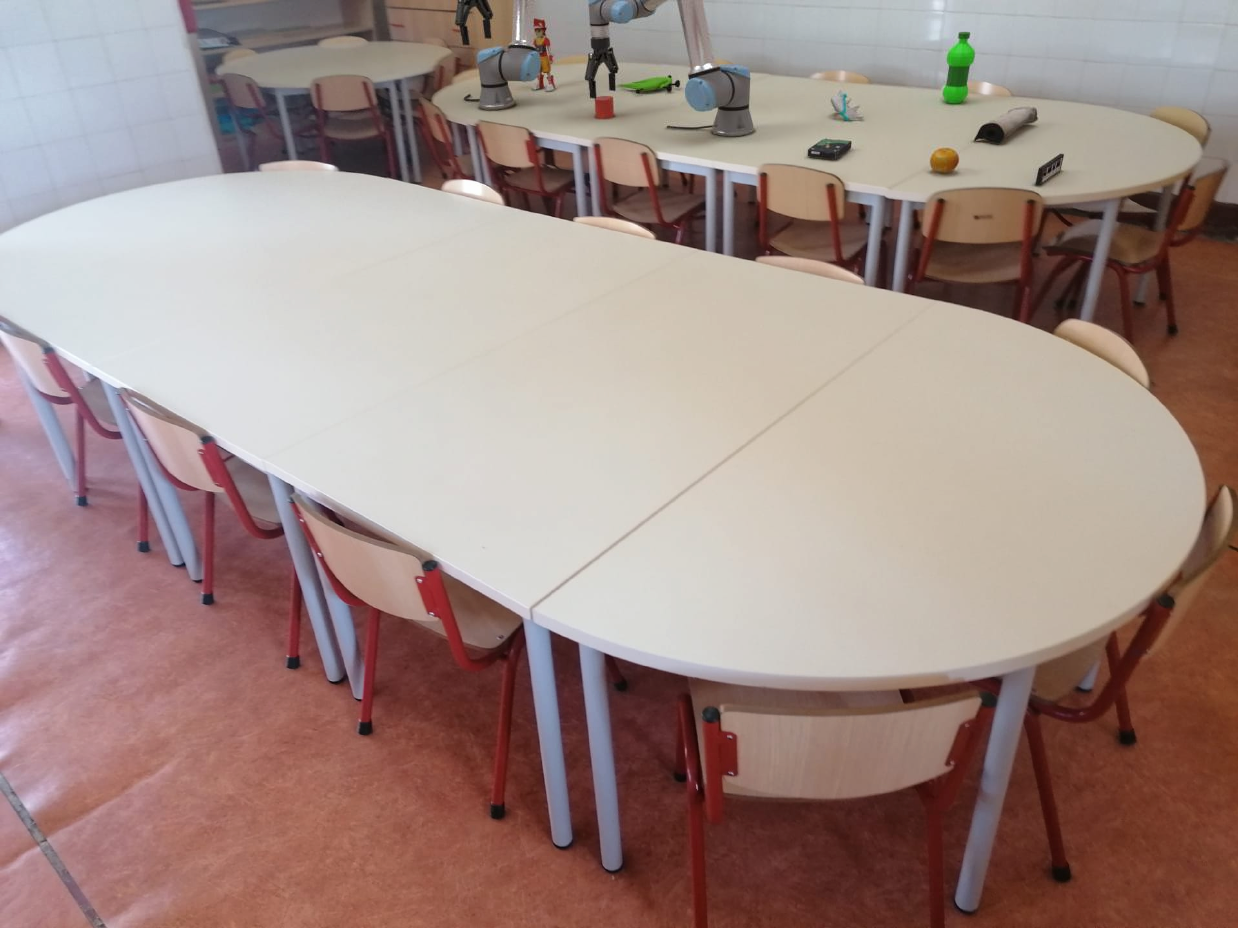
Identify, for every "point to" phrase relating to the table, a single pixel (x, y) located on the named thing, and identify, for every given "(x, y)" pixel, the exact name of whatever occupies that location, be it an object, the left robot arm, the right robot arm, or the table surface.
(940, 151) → the fruit
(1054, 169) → the midi keyboard
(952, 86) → the plastic bottle
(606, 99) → the canister
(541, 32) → the toy
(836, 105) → the anatomical model
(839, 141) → the disk drive
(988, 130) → the rolled mat
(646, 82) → the toy
